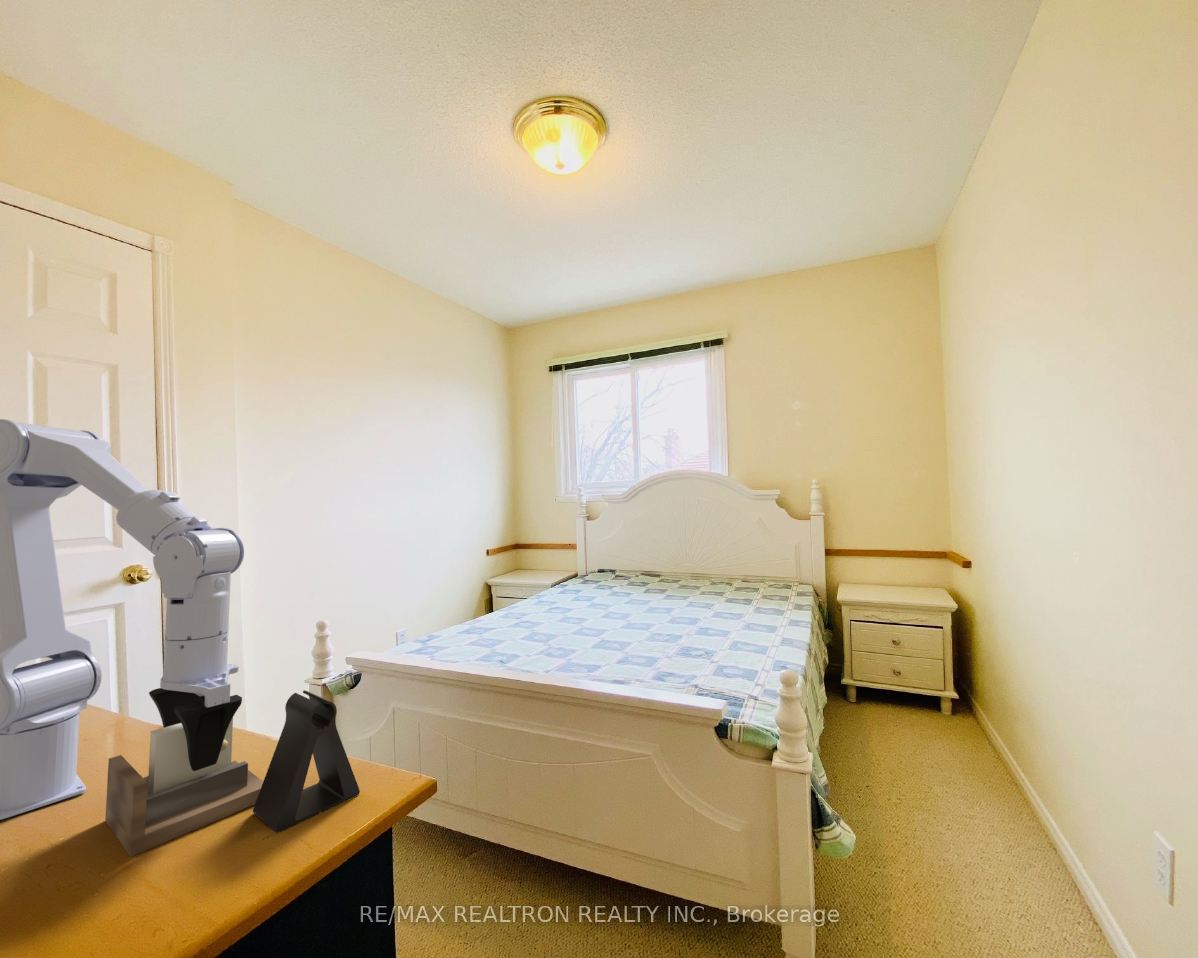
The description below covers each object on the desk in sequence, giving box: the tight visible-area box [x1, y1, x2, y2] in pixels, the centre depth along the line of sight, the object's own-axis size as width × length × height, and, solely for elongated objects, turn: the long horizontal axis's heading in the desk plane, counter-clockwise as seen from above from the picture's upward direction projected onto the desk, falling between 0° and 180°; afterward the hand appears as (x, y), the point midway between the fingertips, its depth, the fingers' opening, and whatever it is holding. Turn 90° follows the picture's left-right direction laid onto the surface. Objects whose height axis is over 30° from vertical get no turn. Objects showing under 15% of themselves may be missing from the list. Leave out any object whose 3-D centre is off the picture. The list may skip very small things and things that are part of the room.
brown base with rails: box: [105, 754, 264, 858], centre depth 56 cm, size 10×12×6 cm
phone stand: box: [252, 690, 361, 834], centre depth 58 cm, size 9×6×12 cm, turn 144°
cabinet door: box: [147, 717, 234, 796], centre depth 56 cm, size 3×7×8 cm, turn 145°
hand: (192, 756), depth 57 cm, fingers open, 7 cm apart
